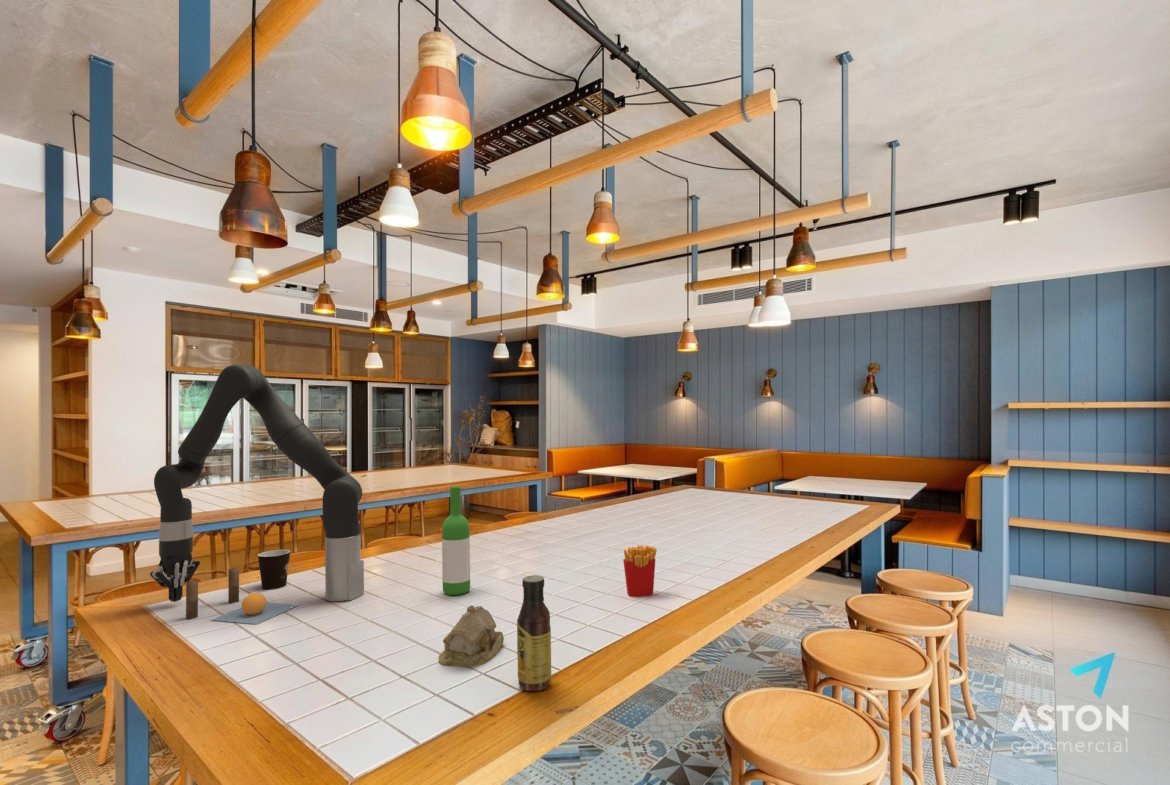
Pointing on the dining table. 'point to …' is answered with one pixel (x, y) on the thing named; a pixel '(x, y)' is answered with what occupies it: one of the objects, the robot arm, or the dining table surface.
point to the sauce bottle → (534, 637)
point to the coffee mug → (274, 568)
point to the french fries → (639, 570)
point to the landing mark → (265, 614)
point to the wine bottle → (455, 548)
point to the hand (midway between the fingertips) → (175, 600)
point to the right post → (233, 585)
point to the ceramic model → (472, 639)
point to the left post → (191, 599)
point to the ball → (253, 603)
